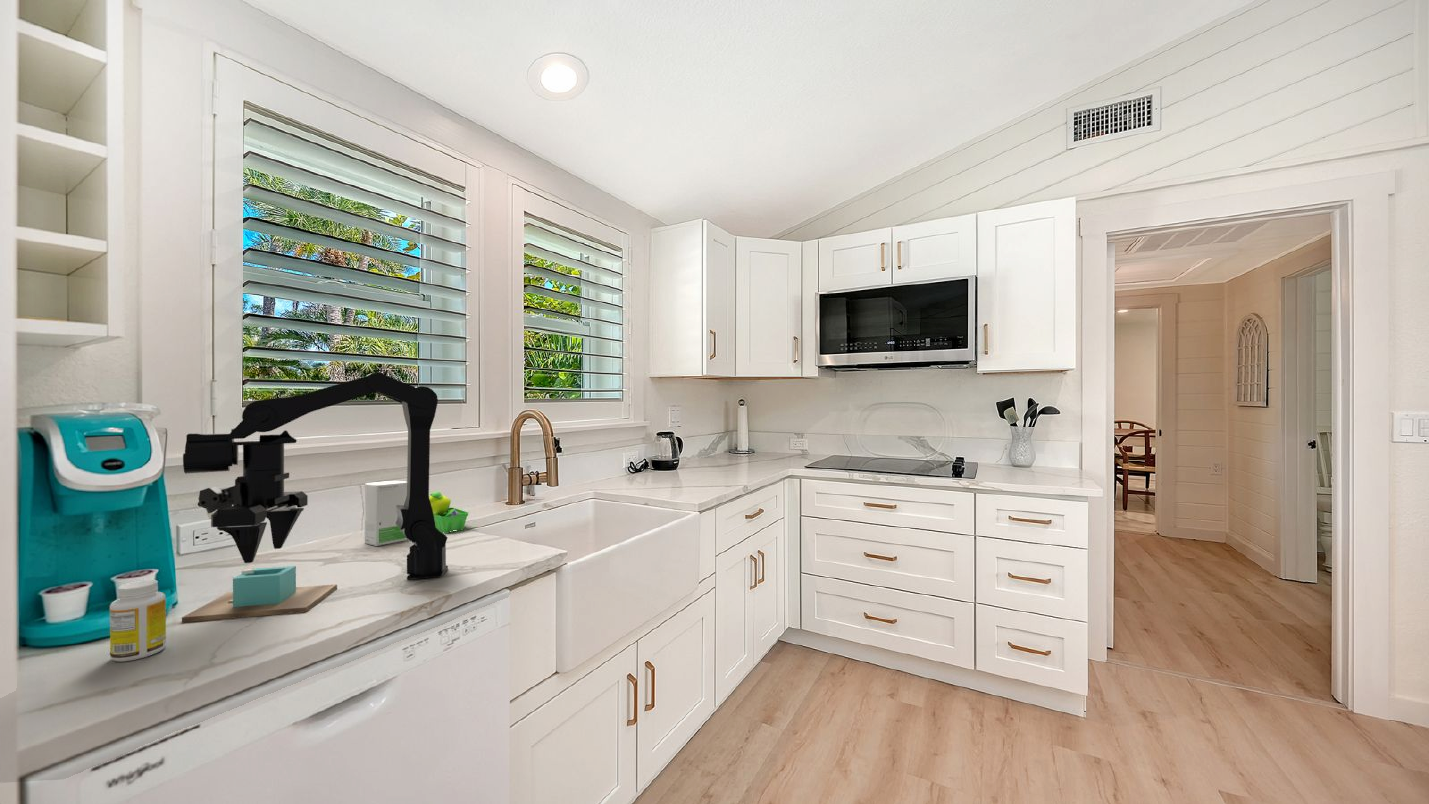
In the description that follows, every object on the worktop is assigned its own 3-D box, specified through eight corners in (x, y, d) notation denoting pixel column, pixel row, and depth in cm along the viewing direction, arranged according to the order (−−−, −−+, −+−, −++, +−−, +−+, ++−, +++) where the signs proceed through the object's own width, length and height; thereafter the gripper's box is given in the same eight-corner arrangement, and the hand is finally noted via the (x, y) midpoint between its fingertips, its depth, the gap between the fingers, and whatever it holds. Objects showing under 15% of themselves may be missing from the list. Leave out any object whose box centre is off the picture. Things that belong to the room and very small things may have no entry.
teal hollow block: (295, 592, 101) (295, 562, 101) (279, 603, 95) (279, 571, 95) (251, 595, 99) (251, 565, 99) (232, 607, 94) (232, 575, 94)
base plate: (337, 588, 105) (337, 582, 105) (306, 611, 94) (306, 605, 94) (228, 596, 101) (228, 590, 101) (181, 622, 89) (181, 615, 89)
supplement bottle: (164, 642, 82) (163, 575, 82) (168, 653, 78) (167, 583, 78) (109, 655, 78) (108, 584, 78) (110, 667, 74) (110, 593, 74)
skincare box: (375, 547, 135) (375, 485, 135) (362, 543, 139) (362, 483, 139) (409, 539, 142) (409, 481, 142) (396, 536, 146) (396, 479, 146)
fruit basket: (470, 530, 153) (469, 490, 153) (437, 536, 146) (437, 494, 146) (453, 524, 160) (452, 486, 160) (421, 529, 154) (421, 490, 154)
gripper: (242, 464, 104) (242, 544, 104) (171, 477, 86) (171, 575, 86) (308, 462, 107) (308, 541, 107) (253, 475, 89) (253, 569, 89)
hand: (263, 555), depth 97 cm, fingers open, 9 cm apart
